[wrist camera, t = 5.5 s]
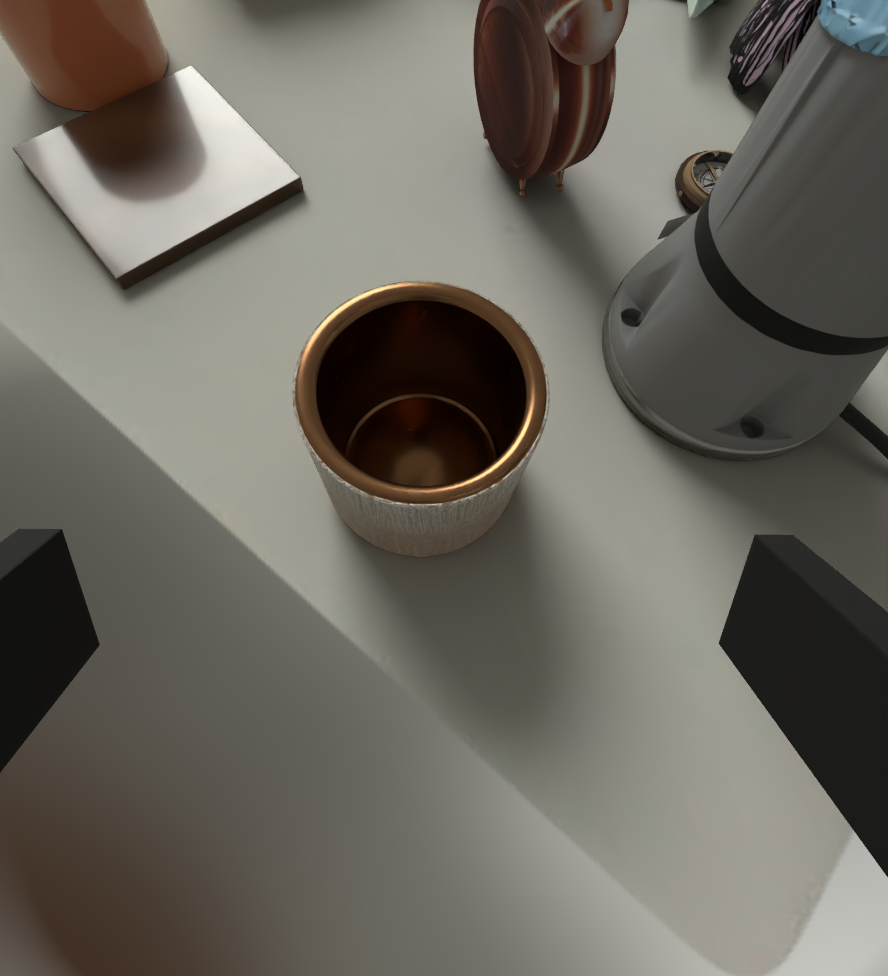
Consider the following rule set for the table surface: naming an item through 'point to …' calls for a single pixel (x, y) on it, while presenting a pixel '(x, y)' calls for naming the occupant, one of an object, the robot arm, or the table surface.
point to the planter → (420, 413)
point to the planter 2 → (697, 7)
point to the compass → (700, 176)
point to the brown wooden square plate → (158, 173)
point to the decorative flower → (768, 38)
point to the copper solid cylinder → (84, 48)
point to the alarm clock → (545, 80)
